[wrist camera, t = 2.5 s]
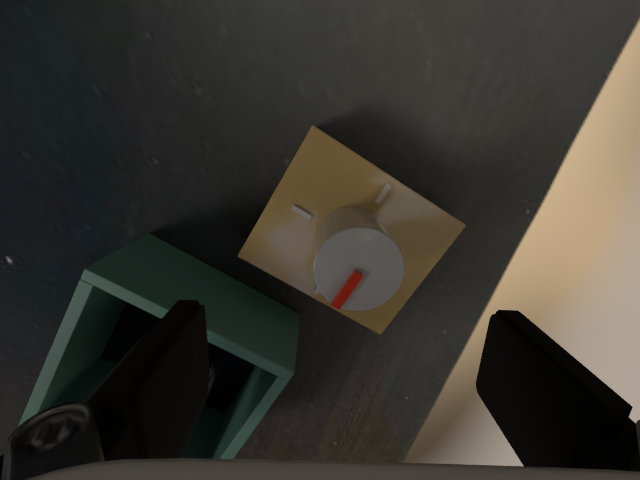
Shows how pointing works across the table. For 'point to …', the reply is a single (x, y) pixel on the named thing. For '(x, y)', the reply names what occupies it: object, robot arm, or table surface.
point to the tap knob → (356, 260)
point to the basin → (158, 298)
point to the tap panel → (338, 192)
